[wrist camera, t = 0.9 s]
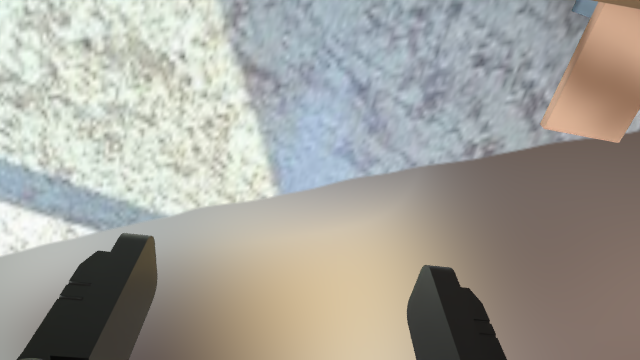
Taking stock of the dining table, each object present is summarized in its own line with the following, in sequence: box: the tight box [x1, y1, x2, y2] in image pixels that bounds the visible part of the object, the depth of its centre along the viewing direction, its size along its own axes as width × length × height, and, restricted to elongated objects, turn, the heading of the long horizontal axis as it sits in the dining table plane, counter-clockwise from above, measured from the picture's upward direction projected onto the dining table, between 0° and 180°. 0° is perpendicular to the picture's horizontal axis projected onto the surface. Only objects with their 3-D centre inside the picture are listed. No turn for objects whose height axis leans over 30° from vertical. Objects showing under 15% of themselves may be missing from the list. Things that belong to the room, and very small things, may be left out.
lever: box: [540, 0, 640, 143], centre depth 23 cm, size 14×22×3 cm, turn 81°
